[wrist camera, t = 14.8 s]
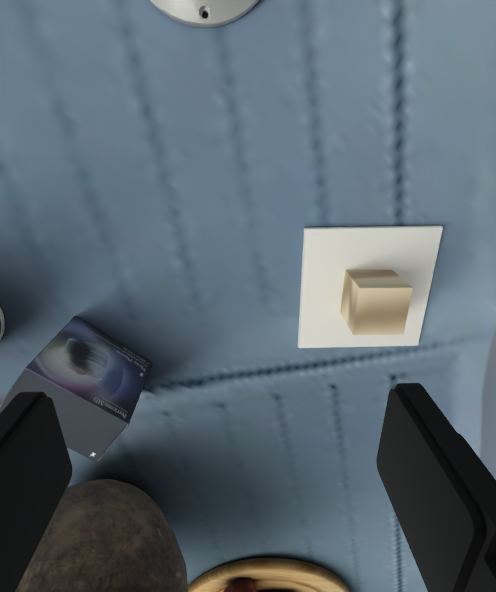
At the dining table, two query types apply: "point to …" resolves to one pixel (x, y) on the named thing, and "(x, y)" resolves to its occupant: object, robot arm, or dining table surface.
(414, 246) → the off-white board
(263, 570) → the wooden plate with food
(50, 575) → the clay pot
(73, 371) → the small box
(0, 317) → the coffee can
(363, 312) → the maple cube
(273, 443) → the dining table surface
